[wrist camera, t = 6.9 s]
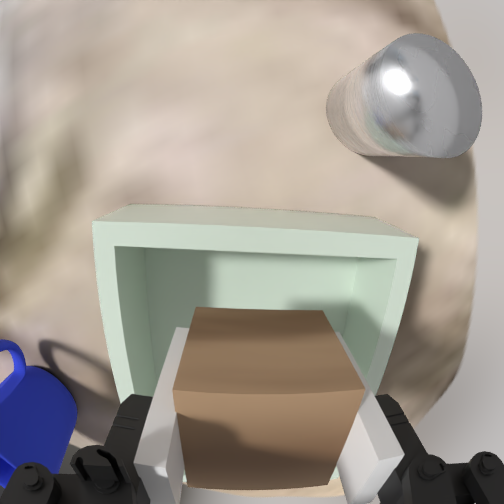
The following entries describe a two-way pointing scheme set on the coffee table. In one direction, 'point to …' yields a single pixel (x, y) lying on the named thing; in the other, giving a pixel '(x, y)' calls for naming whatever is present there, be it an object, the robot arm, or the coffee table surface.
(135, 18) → the coffee table surface
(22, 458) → the mug
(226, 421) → the walnut block
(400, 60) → the canister
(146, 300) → the tote
